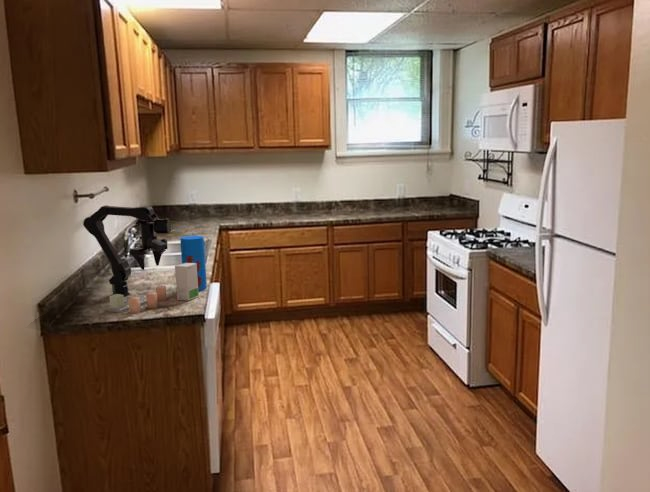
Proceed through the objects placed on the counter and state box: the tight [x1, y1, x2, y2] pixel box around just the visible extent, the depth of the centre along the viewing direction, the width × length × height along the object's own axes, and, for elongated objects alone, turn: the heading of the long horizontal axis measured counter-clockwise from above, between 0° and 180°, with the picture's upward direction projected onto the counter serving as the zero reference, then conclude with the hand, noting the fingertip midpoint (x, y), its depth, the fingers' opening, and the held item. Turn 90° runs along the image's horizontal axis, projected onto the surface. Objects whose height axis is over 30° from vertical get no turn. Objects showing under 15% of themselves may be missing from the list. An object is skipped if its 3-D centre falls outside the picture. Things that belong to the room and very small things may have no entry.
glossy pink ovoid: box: [155, 285, 168, 302], centre depth 241 cm, size 4×4×6 cm
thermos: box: [179, 235, 208, 292], centre depth 258 cm, size 11×11×25 cm
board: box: [104, 296, 147, 314], centre depth 234 cm, size 9×19×1 cm, turn 154°
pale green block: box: [109, 294, 125, 309], centre depth 229 cm, size 4×4×5 cm
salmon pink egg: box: [145, 291, 159, 310], centre depth 231 cm, size 4×4×6 cm
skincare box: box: [174, 263, 200, 301], centre depth 243 cm, size 8×7×16 cm
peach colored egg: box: [127, 296, 142, 314], centre depth 225 cm, size 4×4×6 cm
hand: (150, 267), depth 248 cm, fingers open, 9 cm apart
